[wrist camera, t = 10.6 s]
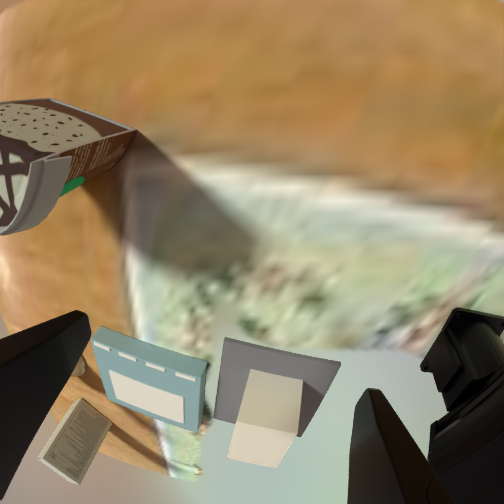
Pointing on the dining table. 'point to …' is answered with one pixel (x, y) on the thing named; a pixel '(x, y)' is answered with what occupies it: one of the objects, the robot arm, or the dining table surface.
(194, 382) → the ticket book
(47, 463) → the skincare box
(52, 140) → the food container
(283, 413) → the stub
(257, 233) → the dining table surface
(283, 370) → the mat
